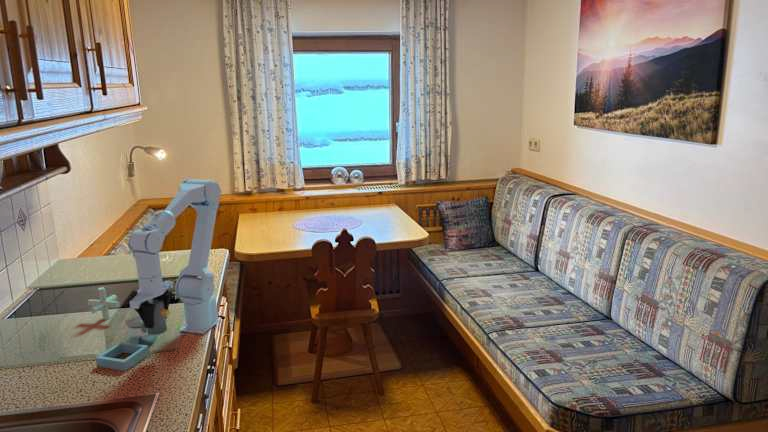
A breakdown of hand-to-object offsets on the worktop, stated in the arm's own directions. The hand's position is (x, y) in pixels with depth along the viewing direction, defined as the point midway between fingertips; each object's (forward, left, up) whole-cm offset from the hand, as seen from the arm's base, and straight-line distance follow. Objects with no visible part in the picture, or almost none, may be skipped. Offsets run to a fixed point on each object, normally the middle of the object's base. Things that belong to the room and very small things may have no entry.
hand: (156, 323), depth 149 cm
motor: (-5, -9, -9) cm, 14 cm away
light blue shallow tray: (+5, -7, -9) cm, 13 cm away
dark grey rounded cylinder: (0, 0, -2) cm, 2 cm away
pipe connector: (-15, -31, -9) cm, 36 cm away
